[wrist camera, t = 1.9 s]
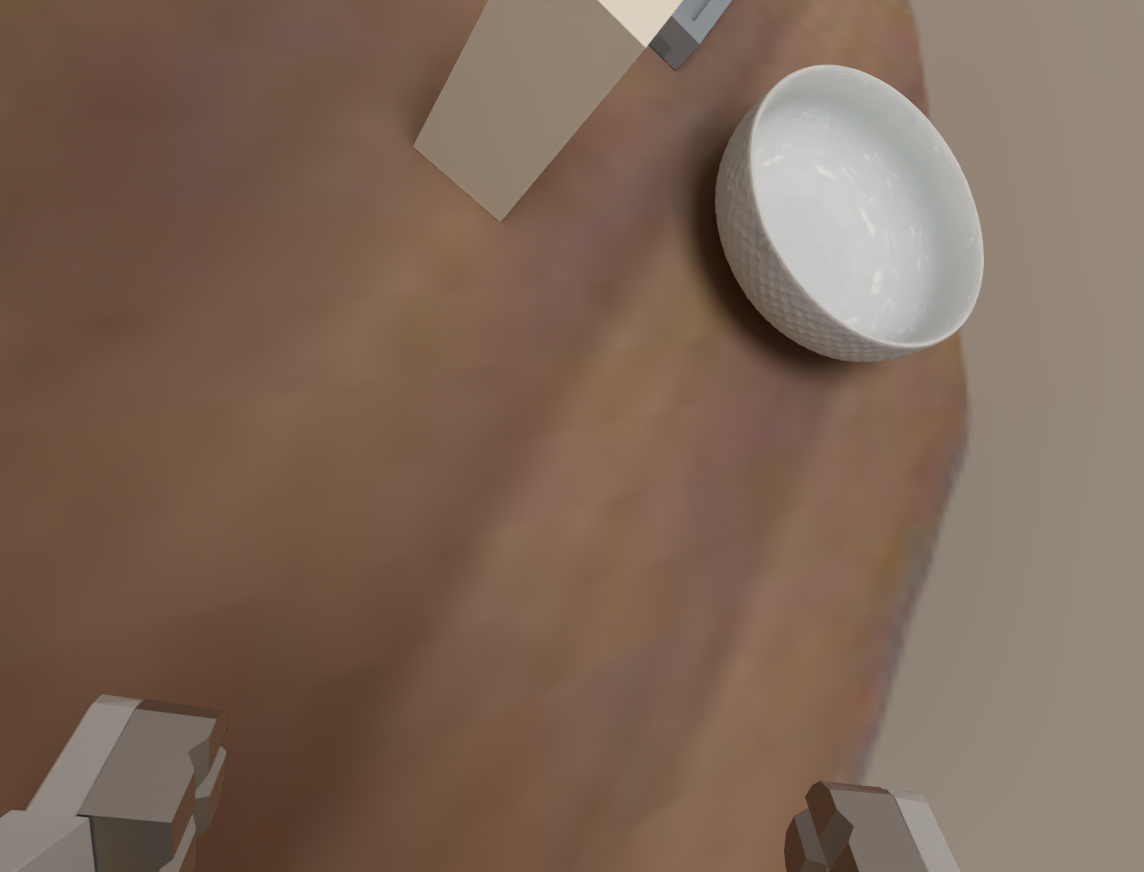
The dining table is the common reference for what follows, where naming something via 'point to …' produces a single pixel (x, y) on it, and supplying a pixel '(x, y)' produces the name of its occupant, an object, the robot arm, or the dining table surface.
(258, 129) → the dining table surface
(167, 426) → the dining table surface
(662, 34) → the tray
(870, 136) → the cereal bowl
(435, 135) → the juice box
